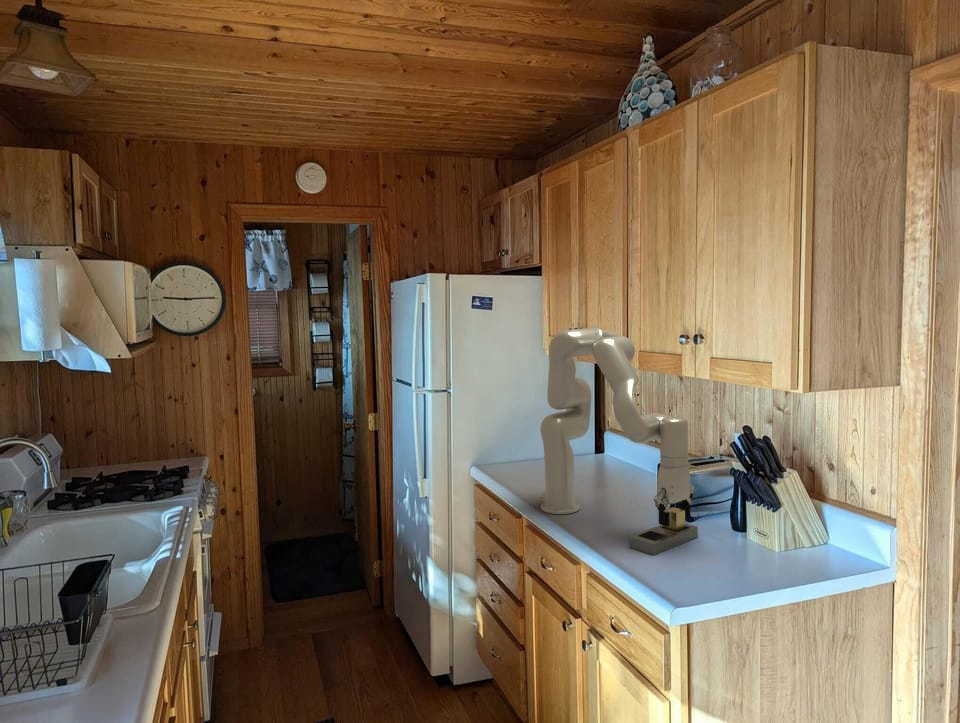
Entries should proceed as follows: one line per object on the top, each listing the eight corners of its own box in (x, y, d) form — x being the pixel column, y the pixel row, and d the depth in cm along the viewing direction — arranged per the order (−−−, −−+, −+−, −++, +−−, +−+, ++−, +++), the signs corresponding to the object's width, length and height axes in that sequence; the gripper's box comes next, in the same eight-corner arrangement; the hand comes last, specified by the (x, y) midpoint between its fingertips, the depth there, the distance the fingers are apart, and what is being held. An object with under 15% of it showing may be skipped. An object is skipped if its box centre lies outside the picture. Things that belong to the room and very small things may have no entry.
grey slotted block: (629, 547, 185) (629, 536, 185) (673, 530, 198) (673, 520, 197) (653, 555, 179) (653, 544, 179) (697, 537, 191) (697, 526, 191)
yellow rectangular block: (664, 537, 192) (664, 510, 191) (673, 534, 194) (672, 507, 194) (676, 541, 189) (676, 513, 188) (685, 538, 191) (684, 510, 190)
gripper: (681, 454, 198) (681, 511, 199) (643, 464, 187) (644, 525, 189) (703, 458, 192) (704, 517, 193) (666, 469, 181) (667, 531, 183)
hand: (674, 521), depth 191 cm, fingers open, 9 cm apart
